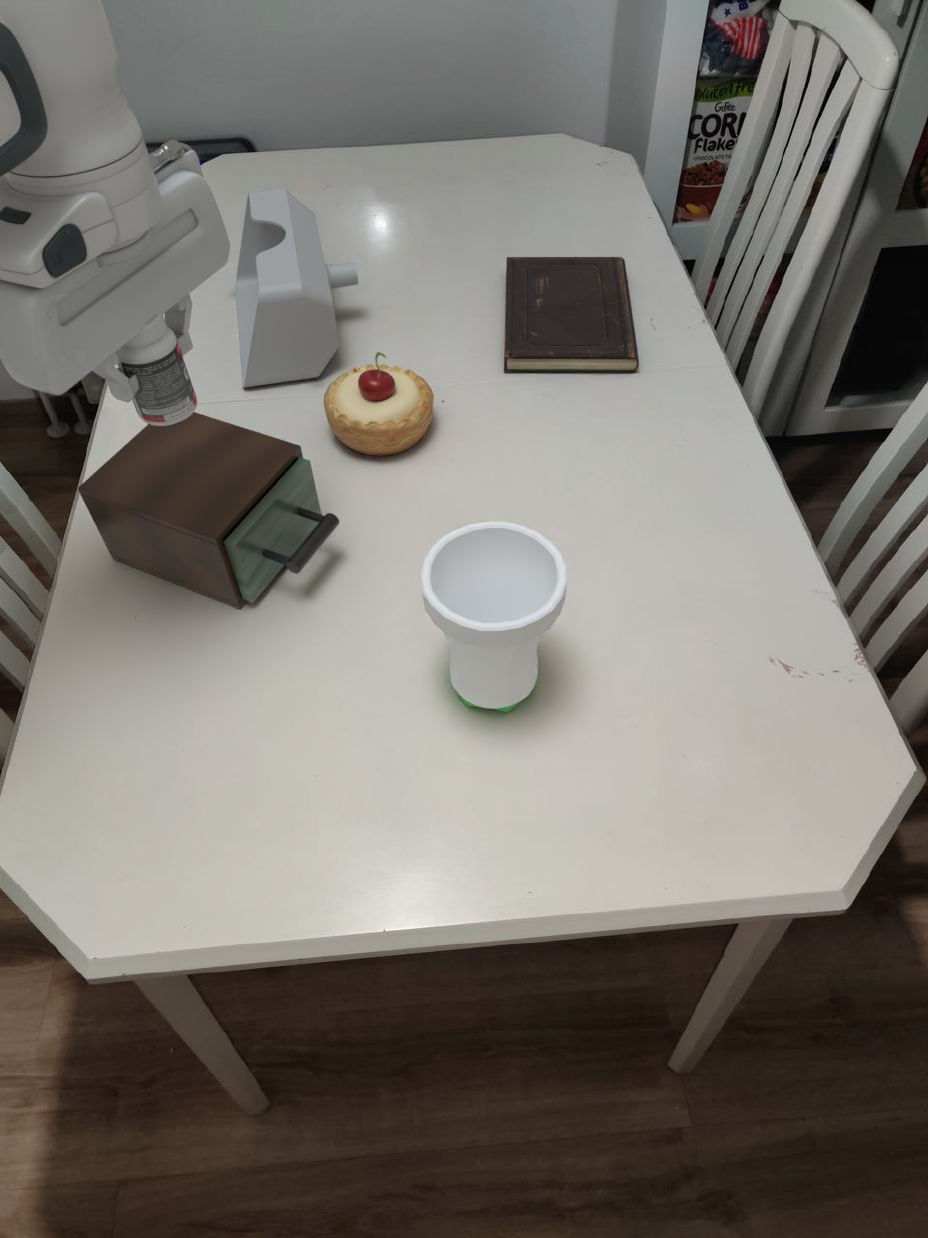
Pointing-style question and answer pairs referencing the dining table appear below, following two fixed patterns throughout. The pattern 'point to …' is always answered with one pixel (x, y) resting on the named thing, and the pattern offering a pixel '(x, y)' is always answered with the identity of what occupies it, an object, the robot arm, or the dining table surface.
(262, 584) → the drawer
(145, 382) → the pill bottle
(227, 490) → the cabinet
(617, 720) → the dining table surface
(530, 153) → the dining table surface
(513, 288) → the hardcover book
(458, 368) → the dining table surface
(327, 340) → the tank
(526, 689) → the cup
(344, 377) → the pastry
